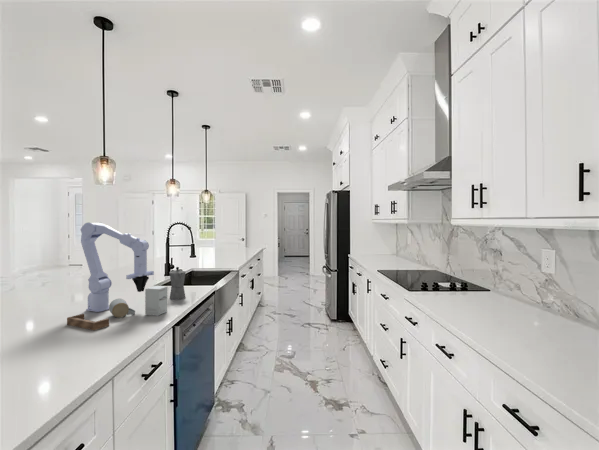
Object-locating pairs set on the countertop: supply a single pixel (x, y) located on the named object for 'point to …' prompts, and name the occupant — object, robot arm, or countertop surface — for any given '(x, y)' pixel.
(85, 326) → the rail
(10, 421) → the countertop surface
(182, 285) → the coffeepot
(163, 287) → the supplement box
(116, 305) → the ceramic mug
